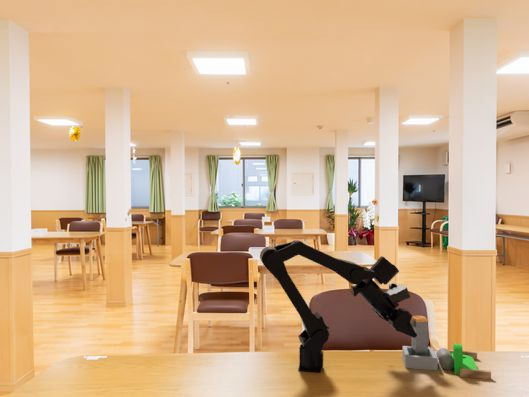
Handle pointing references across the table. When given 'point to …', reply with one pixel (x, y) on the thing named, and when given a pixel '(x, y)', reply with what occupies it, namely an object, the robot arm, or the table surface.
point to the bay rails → (470, 372)
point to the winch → (428, 359)
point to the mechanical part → (462, 360)
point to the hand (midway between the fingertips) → (409, 331)
